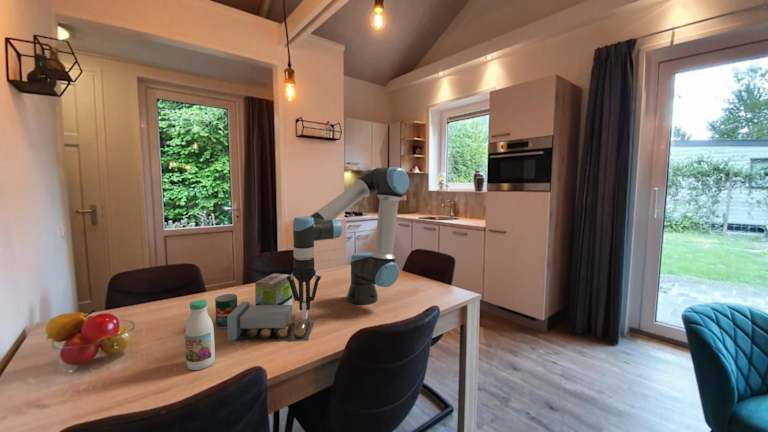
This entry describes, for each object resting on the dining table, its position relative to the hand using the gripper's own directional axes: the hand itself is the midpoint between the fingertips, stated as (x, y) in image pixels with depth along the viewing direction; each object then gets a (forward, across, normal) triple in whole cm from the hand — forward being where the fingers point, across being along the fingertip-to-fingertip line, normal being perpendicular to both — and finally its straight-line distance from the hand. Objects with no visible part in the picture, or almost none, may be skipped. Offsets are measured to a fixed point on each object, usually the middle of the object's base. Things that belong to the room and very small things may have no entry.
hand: (304, 317), depth 124 cm
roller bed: (+5, +10, 0) cm, 11 cm away
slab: (+1, +14, 0) cm, 14 cm away
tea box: (+5, +17, -20) cm, 27 cm away
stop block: (+5, +25, +1) cm, 25 cm away
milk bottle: (+5, +28, +23) cm, 36 cm away
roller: (+3, +20, +1) cm, 20 cm away
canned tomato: (+5, +32, -6) cm, 33 cm away
